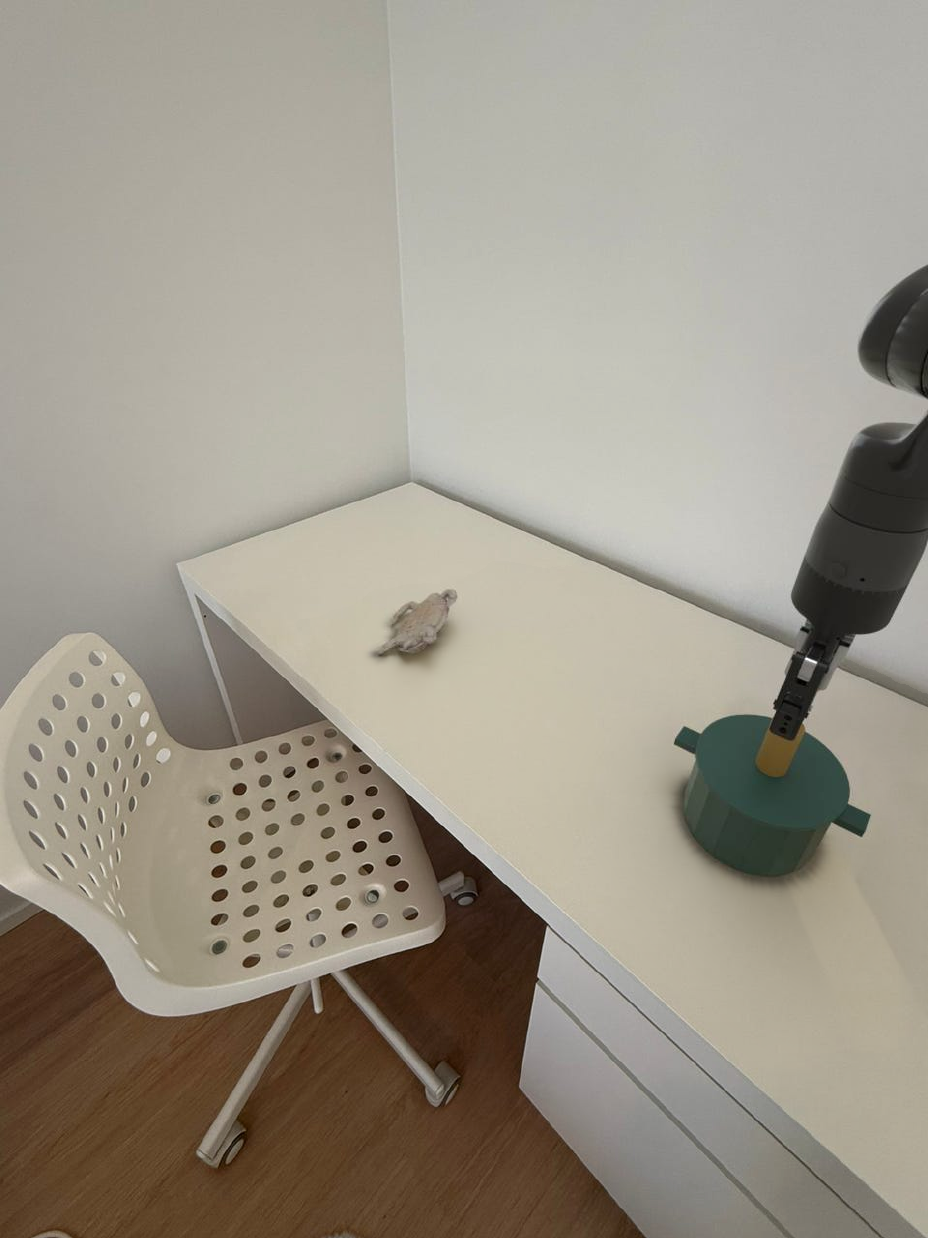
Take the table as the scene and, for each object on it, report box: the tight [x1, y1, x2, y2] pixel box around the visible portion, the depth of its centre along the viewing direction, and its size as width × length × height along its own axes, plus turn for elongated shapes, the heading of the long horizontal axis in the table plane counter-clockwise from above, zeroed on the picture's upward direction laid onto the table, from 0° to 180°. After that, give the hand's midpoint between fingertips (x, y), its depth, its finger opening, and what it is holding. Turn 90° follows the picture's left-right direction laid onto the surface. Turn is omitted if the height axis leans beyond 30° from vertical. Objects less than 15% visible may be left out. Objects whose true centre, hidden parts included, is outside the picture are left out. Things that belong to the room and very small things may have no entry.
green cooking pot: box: [673, 725, 872, 878], centre depth 69 cm, size 14×19×8 cm
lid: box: [694, 713, 851, 831], centre depth 64 cm, size 15×15×7 cm
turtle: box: [378, 588, 458, 655], centre depth 95 cm, size 16×10×10 cm, turn 7°
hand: (795, 707), depth 61 cm, fingers open, 8 cm apart
